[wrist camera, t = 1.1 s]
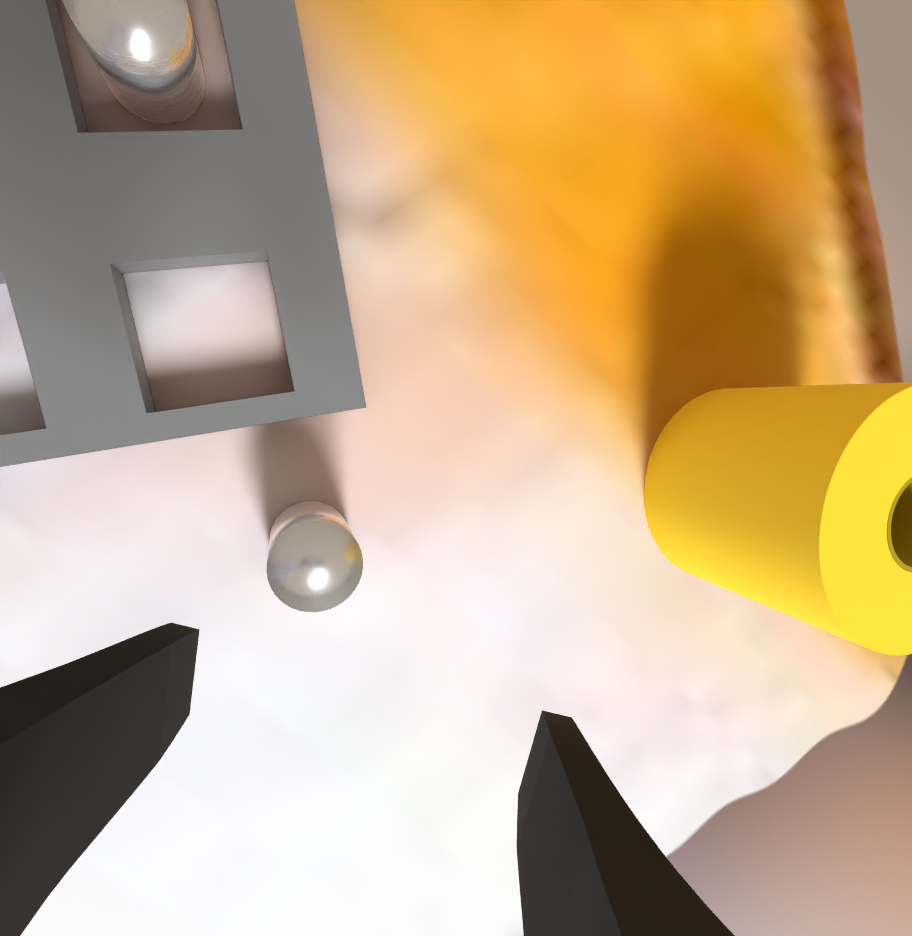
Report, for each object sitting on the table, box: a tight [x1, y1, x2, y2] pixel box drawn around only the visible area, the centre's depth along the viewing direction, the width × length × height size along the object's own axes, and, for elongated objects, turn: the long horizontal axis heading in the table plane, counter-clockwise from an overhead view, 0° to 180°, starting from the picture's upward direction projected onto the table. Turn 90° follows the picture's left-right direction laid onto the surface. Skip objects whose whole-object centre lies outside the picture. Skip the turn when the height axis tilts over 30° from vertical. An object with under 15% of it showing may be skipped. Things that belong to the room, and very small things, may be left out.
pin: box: [62, 0, 205, 124], centre depth 17 cm, size 3×3×4 cm
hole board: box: [0, 0, 366, 467], centre depth 18 cm, size 18×16×2 cm
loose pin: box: [267, 501, 363, 612], centre depth 21 cm, size 3×3×4 cm
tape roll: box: [644, 382, 912, 655], centre depth 24 cm, size 10×10×9 cm
